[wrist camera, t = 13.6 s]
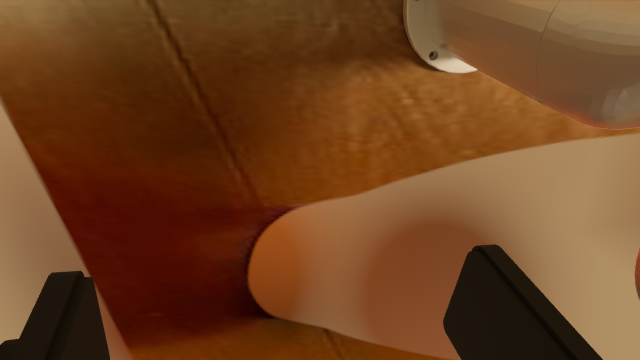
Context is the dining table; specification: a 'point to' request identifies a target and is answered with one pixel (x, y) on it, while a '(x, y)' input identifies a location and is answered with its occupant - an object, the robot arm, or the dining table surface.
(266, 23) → the dining table surface
